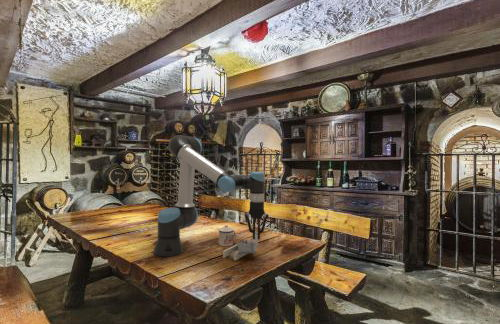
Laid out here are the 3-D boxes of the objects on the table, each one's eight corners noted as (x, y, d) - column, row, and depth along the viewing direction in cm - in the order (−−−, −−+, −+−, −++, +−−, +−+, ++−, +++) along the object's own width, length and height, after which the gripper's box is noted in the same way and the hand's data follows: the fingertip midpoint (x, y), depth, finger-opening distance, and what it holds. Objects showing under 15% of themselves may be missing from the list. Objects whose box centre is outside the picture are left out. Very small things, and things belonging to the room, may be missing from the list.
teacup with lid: (224, 247, 161) (225, 227, 161) (215, 244, 167) (215, 225, 167) (239, 243, 170) (240, 224, 169) (230, 240, 176) (230, 222, 176)
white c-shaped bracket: (223, 257, 145) (223, 250, 145) (240, 248, 160) (240, 242, 160) (235, 260, 141) (235, 253, 141) (251, 251, 156) (251, 244, 156)
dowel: (231, 260, 143) (235, 257, 142) (227, 255, 144) (231, 252, 143) (240, 255, 151) (243, 252, 150) (236, 250, 152) (240, 247, 151)
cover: (239, 253, 140) (239, 245, 140) (237, 242, 158) (237, 235, 158) (255, 253, 141) (256, 245, 141) (252, 242, 159) (252, 235, 159)
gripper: (244, 202, 142) (243, 247, 142) (269, 202, 142) (268, 248, 142) (245, 199, 150) (244, 243, 150) (268, 200, 149) (268, 243, 149)
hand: (256, 245), depth 146 cm, fingers closed
